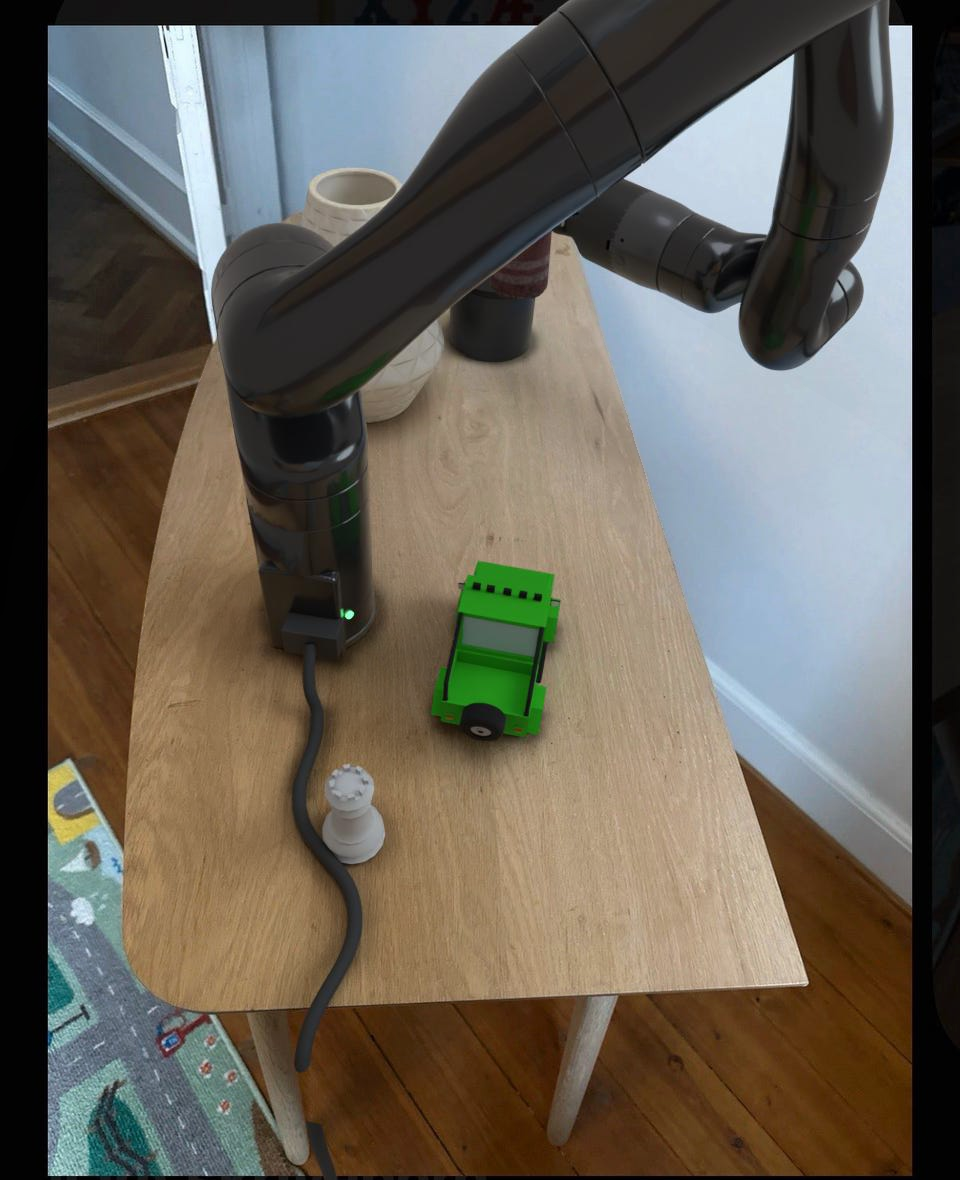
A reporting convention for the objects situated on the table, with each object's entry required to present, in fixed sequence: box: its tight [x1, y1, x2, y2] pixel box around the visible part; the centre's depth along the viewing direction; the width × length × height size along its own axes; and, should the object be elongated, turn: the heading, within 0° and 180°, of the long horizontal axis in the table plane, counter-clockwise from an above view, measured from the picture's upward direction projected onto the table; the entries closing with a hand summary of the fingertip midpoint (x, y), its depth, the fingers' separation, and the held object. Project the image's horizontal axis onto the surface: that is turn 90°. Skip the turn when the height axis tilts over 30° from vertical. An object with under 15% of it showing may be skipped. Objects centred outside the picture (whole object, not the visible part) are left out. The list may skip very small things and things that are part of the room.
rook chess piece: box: [321, 763, 386, 865], centre depth 60 cm, size 4×4×8 cm
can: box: [490, 230, 553, 300], centre depth 88 cm, size 6×6×14 cm
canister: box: [448, 277, 536, 363], centre depth 105 cm, size 10×10×9 cm
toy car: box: [430, 560, 562, 743], centre depth 69 cm, size 8×17×10 cm, turn 170°
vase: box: [300, 166, 445, 424], centre depth 90 cm, size 18×17×23 cm
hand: (500, 172), depth 87 cm, fingers closed
